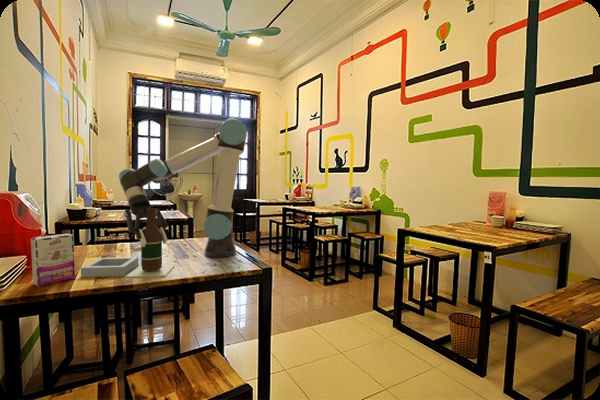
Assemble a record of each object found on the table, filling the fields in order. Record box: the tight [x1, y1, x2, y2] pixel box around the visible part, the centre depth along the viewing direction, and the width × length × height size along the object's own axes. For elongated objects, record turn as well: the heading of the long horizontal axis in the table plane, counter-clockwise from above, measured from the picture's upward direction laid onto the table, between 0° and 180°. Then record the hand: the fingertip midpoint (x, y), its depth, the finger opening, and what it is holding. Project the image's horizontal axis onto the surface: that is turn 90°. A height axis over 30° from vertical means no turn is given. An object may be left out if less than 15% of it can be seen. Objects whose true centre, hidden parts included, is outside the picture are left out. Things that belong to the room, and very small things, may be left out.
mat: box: [125, 264, 175, 279], centre depth 124 cm, size 14×14×1 cm
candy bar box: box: [30, 233, 76, 287], centre depth 110 cm, size 11×5×16 cm, turn 148°
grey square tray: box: [80, 256, 139, 278], centre depth 125 cm, size 15×15×4 cm
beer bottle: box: [140, 207, 163, 271], centre depth 124 cm, size 8×8×24 cm
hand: (155, 243), depth 121 cm, fingers closed on beer bottle, 7 cm apart
